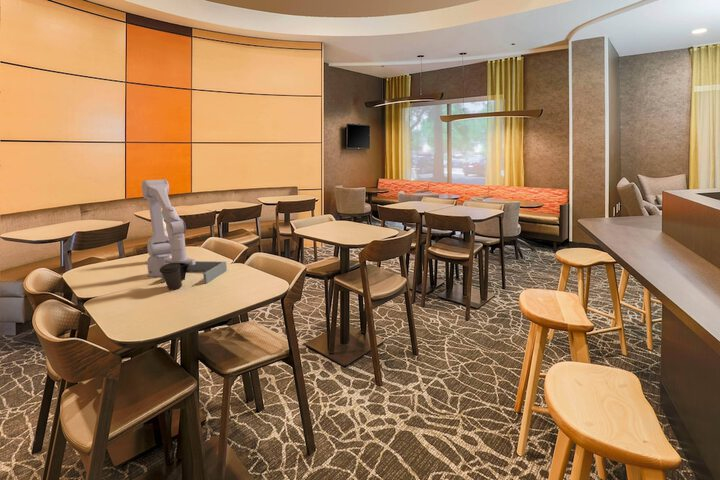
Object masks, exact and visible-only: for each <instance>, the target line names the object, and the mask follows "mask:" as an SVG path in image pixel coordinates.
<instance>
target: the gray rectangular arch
mask: <svg viewBox="0 0 720 480" xmlns="http://www.w3.org/2000/svg"><path fill="white" fill-rule="evenodd" d="M195 261H196V264H194V265H190V264H189V266H188V268H187V271H186V272H192V271H193V272H202V273H203V272H204V273H203V274H202V275H203V276H202V277H203V284H206V285H207V284H208V283H211V282H212V281H213V280H215V279H216V278H218V277H220V276H221V275H222V274H224V273H225V272H228V271H227V270H228V269H227V268H228V267H227V261H214V260H213V261H211V260H209V261H207V260H206V261H205V260H200V261H199V260H195ZM161 282H162V283H163V284H164V283H165V284H166V282H165V280H164V277H163V275H162V273H161Z"/></svg>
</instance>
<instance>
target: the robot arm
mask: <svg viewBox="0 0 720 480" xmlns="http://www.w3.org/2000/svg"><path fill="white" fill-rule="evenodd" d="M169 192H170V184H169V182H168V180H167V179H166V178H164V179H147V180H145V179H143V180H142V182H141V193H142V197H143V199H145V200H147V204H148V209H149V215H150V217H149V218H150V222H151V228H152V236H150V237H149V238H148V239H147V246H146V247H147V248H146V249H147V253H148V255H149V257H148V258H147V260H146V266H147V277H156V278H157V277H161V272H160V268H161V267H162V266H163V265H165V264H168V263H178V264H180V265H181V268H180V272H181V281H185V280H186V274H187V272H188V271H187V268H188V266H189V264H190V265H194V264H196V261H197V260H196V259H195V258H194V259H193V258H188V257H187V250H186V249H187V248H186V239H185V234H186V231H187V226H186V222H185V221H184V219H183V218H181V217H180V216H179V214H178V212H177V209H176V207H174V206H172V204H171V201H170V197H169ZM162 215H163V218H164V222H165V223H166V231H167V234H168V236H166V235H165V233H164V226H163V219H162ZM158 241H163V242H158ZM155 242H156V243H155ZM170 255H171V258H170ZM161 278H162V277H161Z"/></svg>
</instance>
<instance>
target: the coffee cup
mask: <svg viewBox="0 0 720 480" xmlns="http://www.w3.org/2000/svg"><path fill="white" fill-rule="evenodd" d="M180 268H181V265H180V264H178V263H168V264H165V265H163V266H162V267H161V268H160V272H161V273H162V275H163V277H164V280H165V284H166V286H167V289H168V290H170V291H175V290H178V289H181V288H182V286H183V283H182V281H181V272H180Z"/></svg>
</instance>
